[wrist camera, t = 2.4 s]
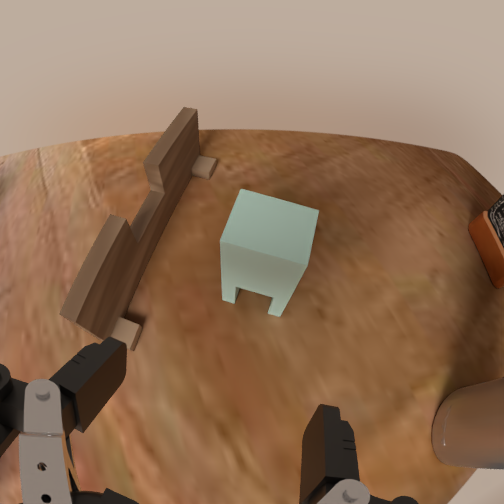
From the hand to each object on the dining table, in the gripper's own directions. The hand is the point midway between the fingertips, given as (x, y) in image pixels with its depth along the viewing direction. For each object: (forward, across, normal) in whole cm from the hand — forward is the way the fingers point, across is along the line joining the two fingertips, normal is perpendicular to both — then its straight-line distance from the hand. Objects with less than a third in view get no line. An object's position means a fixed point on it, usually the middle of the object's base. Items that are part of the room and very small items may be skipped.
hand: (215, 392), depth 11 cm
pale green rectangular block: (+18, 0, +3) cm, 19 cm away
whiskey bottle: (+29, -33, -8) cm, 45 cm away
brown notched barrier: (+20, +12, +2) cm, 23 cm away
